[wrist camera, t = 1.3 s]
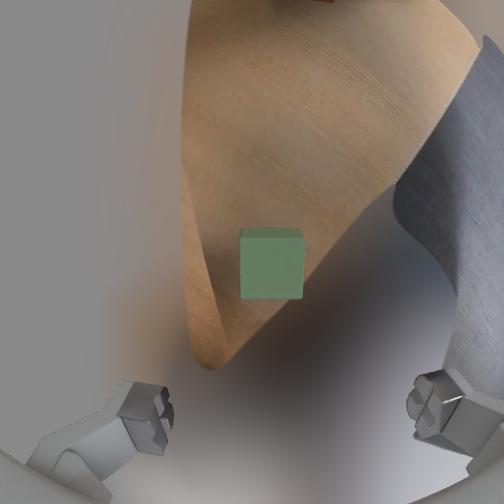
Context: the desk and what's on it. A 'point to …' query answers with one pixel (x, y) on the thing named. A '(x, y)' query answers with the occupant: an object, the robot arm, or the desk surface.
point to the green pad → (271, 263)
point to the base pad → (328, 0)
